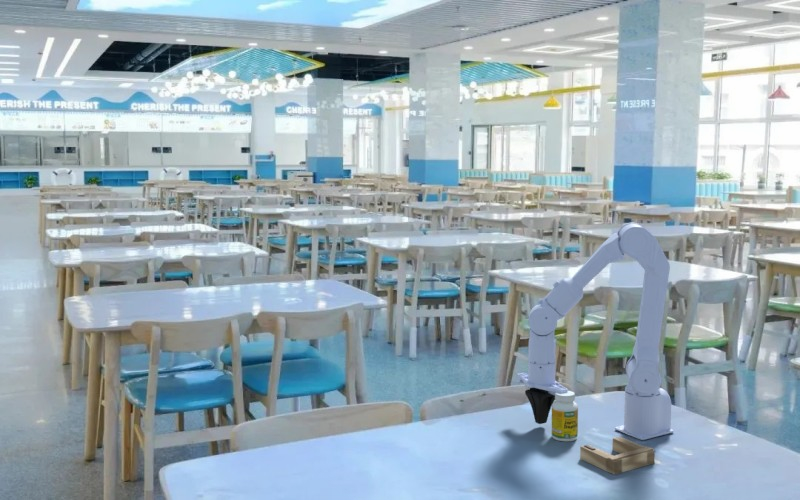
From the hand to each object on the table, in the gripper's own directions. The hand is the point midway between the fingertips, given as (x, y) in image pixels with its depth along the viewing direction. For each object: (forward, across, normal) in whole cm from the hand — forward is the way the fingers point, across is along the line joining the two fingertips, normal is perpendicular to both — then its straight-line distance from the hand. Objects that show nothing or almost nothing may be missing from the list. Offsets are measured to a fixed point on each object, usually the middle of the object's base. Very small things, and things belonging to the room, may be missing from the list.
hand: (541, 422), depth 177 cm
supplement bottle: (+1, +8, 0) cm, 8 cm away
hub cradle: (+1, +22, 0) cm, 23 cm away
